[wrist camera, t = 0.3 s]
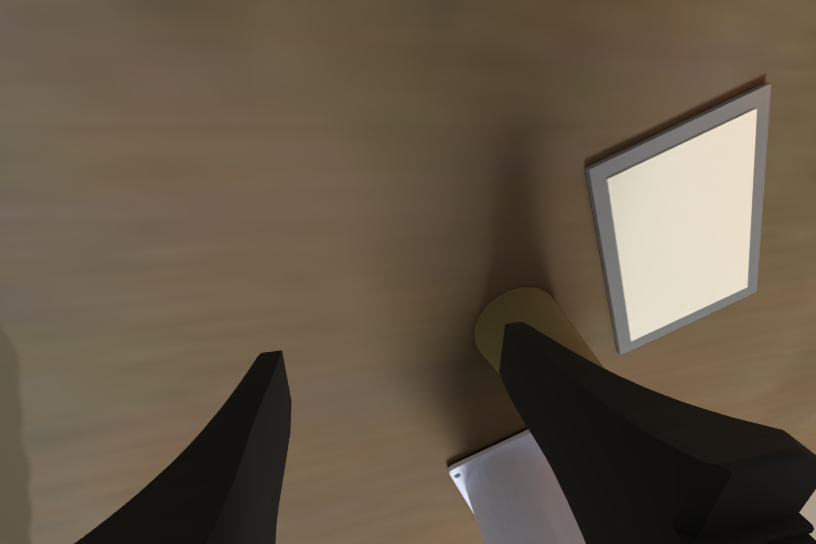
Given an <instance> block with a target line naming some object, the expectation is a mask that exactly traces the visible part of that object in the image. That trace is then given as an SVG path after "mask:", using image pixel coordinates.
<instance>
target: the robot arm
mask: <svg viewBox="0 0 816 544" xmlns="http://www.w3.org/2000/svg"><path fill="white" fill-rule="evenodd" d="M499 373H500V375H501V378H502V380H503V383H504V385H505V388H506V390H507V392H508V394H509V396H510V399H511V400H512V402H513V404H514V406H515V407H516V409H517V411H518V412H519V414H520V416H521V417H522V419H523V421H524V423H525V424H526V426H527V427H528V430H526V431H524V432H521V433H519V434H517V435H515V436H513V437H511V438H509V439H506V440H504V441H502V442H500V443H498V444H496V445H494V446H491V447H489V448H487V449H485V450H483V451H481V452H478V453H476V454H474V455H472V456H470V457H468V458H466V459H463V460H461V461H459V462H457V463H455V464H453V465H451V466H450V467H449V468H448V471H449V474H450V476H451V478H452V479H453V481H454V482H455V484H456V486H457V487H458V489H459V491H460V492H461V494H462V496H463V497H464V499H465V500H466V502H467V504H468V505H469V507H470V509H471V510H472V512H473V513H474V515H475V518H476V520H477V523H478V526H479V529H480V532H481V535H482V538H483V540H484V543H485V544H816V540H814V538H813V537H812V536H810V535H809V533H812V532H813V530H814V528H813V525H812V524H811V523H810V522H809V521H808V520H806V519H805V518H804V517H803V516H802V515H801V514H800V513H799V512H800V510H801V509H802V508H803V506H804V505H805V503H806V502H807V501H808V499H809V498H810V496H811V495H812V494H813V492H814V491H815V489H816V455H815V454H814V453H812V452H811V451H810V450H809V449H807V448H806V447H805V446H803V445H802V444H801V443H800V442H798V441H797V440H796V439H794V438H793V437H792V436H791V435H789V434H788V433H787V432H785V431H783V430H781V429H777V428H773V427H769V426H765V425H761V424H757V423H753V422H749V421H745V420H740V419H736V418H733V417H729V416H726V415H722V414H719V413H716V412H712V411H709V410H706V409H703V408H699V407H696V406H693V405H690V404H687V403H684V402H682V401H679V400H676V399H673V398H671V397H668V396H665V395H663V394H660V393H657V392H655V391H652V390H650V389H647V388H645V387H643V386H640V385H638V384H636V383H634V382H631V381H629V380H627V379H625V378H622V377H620V376H618V375H616V374H614V373H612V372H610V371H608V370H606V369H604V368H602V367H600V366H599V365H597V364H595V363H593V362H591V361H589V360H587V359H585V358H584V357H582V356H580V355H578V354H577V353H575V352H573V351H571V350H570V349H568V348H566V347H565V346H563V345H561V344H560V343H558V342H556V341H555V340H553V339H551V338H550V337H548V336H546V335H545V334H543V333H541V332H540V331H538V330H536V329H535V328H533V327H531V326H529V325H528V324H526V323H524V322H515V323H507V324H505V328H504V336H503V344H502V352H501V360H500V368H499ZM290 426H291V396H290V391H289V386H288V380H287V375H286V370H285V364H284V359H283V353H282V351H273V352H265V353H261V354H260V355H259V356H258V357H257V358H256V360H255V361H254V363H253V364H252V366H251V367H250V369H249V370H248V372H247V373H246V375H245V376H244V378H243V379H242V381H241V382H240V383H239V385H238V386H237V388H236V389H235V390H234V392H233V393H232V394H231V396H230V397H229V398H228V400H227V401H226V402H225V404H224V405H223V406H222V407H221V409H220V410H219V411H218V412H217V414H216V415H215V416H214V417H213V418H212V420H211V421H210V422H209V423H208V424H207V426H206V427H205V428H204V429H203V430H202V431H201V433H200V434H199V435H198V436H197V437H196V438H195V439H194V440H193V441H192V443H191V444H190V445H189V446H188V447H187V448H186V449H185V450H184V451H183V452H182V453H181V454H180V455H179V456H178V457H177V458H176V459H175V460H174V461H173V462H172V463H171V464H170V465H169V466H168V467H167V468H166V469H165V470H164V471H162V472H161V473H160V474H159V475H158V476H157V477H156V478H155V479H154V480H153V481H151V482H150V483H149V484H148V485H147V486H146V487H145V488H144V489H143V490H141V491H140V492H139V493H138V494H137V495H136V496H135V497H133V498H132V499H131V500H130V501H129V502H127V503H126V504H125V505H124V506H122V507H121V508H120V509H119V510H118V511H116V512H115V513H114V514H113V515H111V516H110V517H109V518H107V519H106V520H105V521H104V522H102V523H101V524H100V525H99V526H97V527H96V528H95V529H93V530H92V531H91V532H89V533H88V534H87V535H85V536H84V537H83V538H81V539H80V540H79V541H77V542H76V543H74V544H275V539H276V524H277V515H278V507H279V501H280V494H281V488H282V482H283V476H284V469H285V463H286V457H287V450H288V444H289V437H290Z"/></svg>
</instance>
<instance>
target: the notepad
mask: <svg viewBox="0 0 816 544" xmlns="http://www.w3.org/2000/svg"><path fill="white" fill-rule="evenodd" d="M770 93H771V83H763V84H761V85H759V86H757V87H755V88H753V89H750V90H748V91H746V92H744V93H742V94H740V95H738V96H736V97H734V98H731V99H729V100H727V101H725V102H723V103H721V104H719V105H717V106H715V107H712V108H710V109H708V110H706V111H704V112H702V113H700V114H698V115H696V116H694V117H691V118H689V119H687V120H685V121H683V122H681V123H679V124H677V125H675V126H672V127H670V128H668V129H666V130H664V131H662V132H660V133H658V134H656V135H654V136H651V137H649V138H647V139H645V140H643V141H641V142H639V143H637V144H635V145H632V146H630V147H628V148H626V149H624V150H622V151H620V152H618V153H616V154H614V155H611V156H609V157H607V158H605V159H603V160H601V161H599V162H597V163H595V164H592V165H590V166H588V167H586V168H585V172H586V178H587V184H588V189H589V195H590V201H591V207H592V212H593V218H594V224H595V229H596V235H597V241H598V246H599V252H600V258H601V263H602V269H603V275H604V280H605V286H606V292H607V298H608V303H609V309H610V315H611V320H612V326H613V332H614V337H615V343H616V349H617V352H618V353H619V354H620V355H623V354H625V353H627V352H629V351H631V350H633V349H635V348H638V347H640V346H642V345H644V344H646V343H648V342H650V341H653V340H655V339H657V338H659V337H661V336H663V335H665V334H668V333H670V332H672V331H674V330H676V329H678V328H680V327H683V326H685V325H687V324H689V323H691V322H693V321H695V320H698V319H700V318H702V317H704V316H706V315H708V314H710V313H713V312H715V311H717V310H719V309H721V308H723V307H725V306H728V305H730V304H732V303H734V302H736V301H738V300H740V299H742V298H745V297H747V296H749V295H751V294H753V293H755V292H757V282H758V267H759V253H760V238H761V224H762V209H763V195H764V180H765V166H766V151H767V137H768V122H769V107H770Z"/></svg>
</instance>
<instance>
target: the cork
mask: <svg viewBox="0 0 816 544" xmlns="http://www.w3.org/2000/svg"><path fill="white" fill-rule="evenodd" d="M515 322H524V323H526V324H528V325H529V326H531V327H533V328H535V329H536V330H538V331H540V332H541V333H543V334H545V335H546V336H548V337H550V338H551V339H553V340H555V341H556V342H558V343H560V344H561V345H563V346H565V347H566V348H568V349H570V350H571V351H573V352H575V353H577V354H578V355H580V356H582V357H584V358H585V359H587V360H589V361H591V362H593V363H595V364H597V365H599V366H600V367H602V368H604V367H603V366H602V365H601V363H600V362H599V360H598V359H597V358H596V356H595V355H594V353H593V352H592V351H591V349H590V348H589V347H588V345H587V344H586V342H585V341H584V340H583V338H582V337H581V335H580V334H579V333H578V331H577V330H576V329H575V327H574V326H573V324H572V323H571V322H570V320H569V319H568V318H567V316H566V315H565V313H564V312H563V311H562V309H561V308H560V306H559V305H558V304H557V302H556V301H555V300H554V299H553V298H552V297H551V295H550V294H549V293H548V292H546V291H543V290H541V289H539V288H537V287H520V288H516V289H511V290H508V291H507V292H505V293H503V294H501V295H499V296H497V297H496V298H494V299H493V300H492V301H491V302H490V303H489V304H488V305H487V306H486V307H485V308H484V309H483V311H482V313H481V314H480V316H479V317H478V319H477V322H476V326H475V329H474V336H475V343H476V345H477V347H478V349H479V351H480V352H481V354H482V355H483V356H484V357H485V358H486V359H487V361H488V362H489V363H490V364H491V365H492V367H493V368H494V369H495V370H496V371H497V372H498V374H499V375H500V373H499V368H500V360H501V352H502V344H503V336H504V328H505V324H507V323H515ZM500 376H501V375H500Z"/></svg>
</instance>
